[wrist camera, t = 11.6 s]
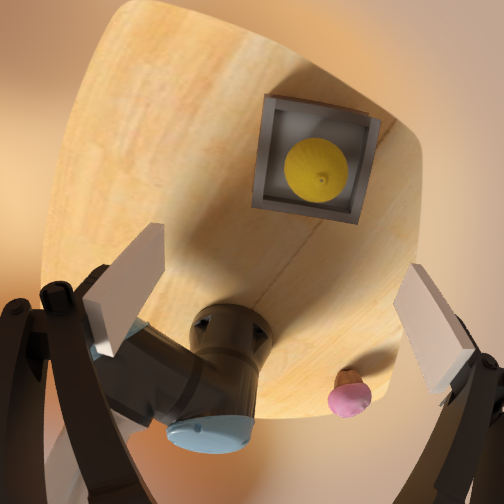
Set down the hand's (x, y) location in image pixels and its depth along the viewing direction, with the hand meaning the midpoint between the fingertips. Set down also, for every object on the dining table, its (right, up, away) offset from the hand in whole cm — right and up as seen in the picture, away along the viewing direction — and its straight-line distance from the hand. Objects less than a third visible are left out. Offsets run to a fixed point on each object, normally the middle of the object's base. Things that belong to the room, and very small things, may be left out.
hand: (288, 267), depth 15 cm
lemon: (+4, +10, +13) cm, 17 cm away
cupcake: (+18, -25, +42) cm, 53 cm away
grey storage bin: (+5, +15, +22) cm, 27 cm away
